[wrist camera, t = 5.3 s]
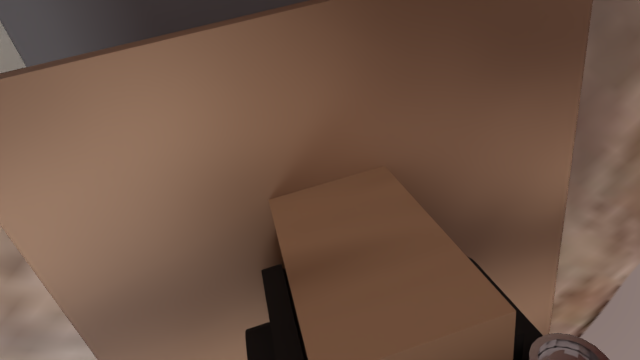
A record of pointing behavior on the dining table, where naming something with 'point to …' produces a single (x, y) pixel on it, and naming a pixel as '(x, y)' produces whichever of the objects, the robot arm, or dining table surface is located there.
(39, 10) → the mat
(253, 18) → the lid
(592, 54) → the dining table surface
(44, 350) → the dining table surface
